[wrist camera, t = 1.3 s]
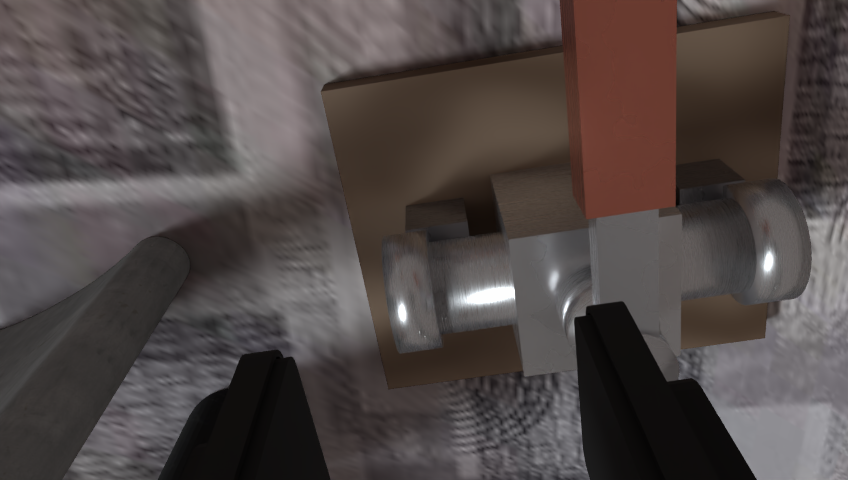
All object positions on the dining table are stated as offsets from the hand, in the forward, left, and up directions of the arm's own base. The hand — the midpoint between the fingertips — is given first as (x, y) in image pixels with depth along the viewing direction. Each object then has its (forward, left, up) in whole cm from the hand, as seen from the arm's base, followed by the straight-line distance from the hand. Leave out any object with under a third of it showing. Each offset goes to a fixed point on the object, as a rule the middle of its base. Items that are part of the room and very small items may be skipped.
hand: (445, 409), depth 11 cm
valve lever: (-3, -6, -14) cm, 15 cm away
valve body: (-9, -6, -24) cm, 26 cm away
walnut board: (-9, -6, -25) cm, 28 cm away
